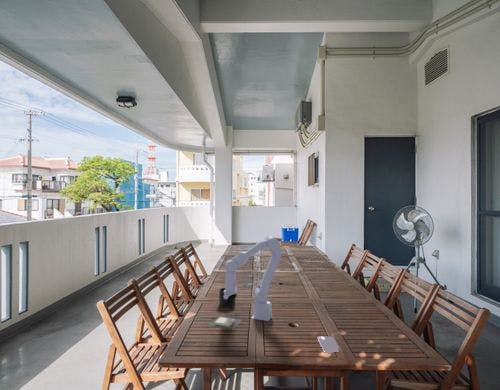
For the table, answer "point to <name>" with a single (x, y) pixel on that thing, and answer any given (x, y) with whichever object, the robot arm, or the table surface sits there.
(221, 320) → the tile
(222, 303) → the mug
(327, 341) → the mobile phone
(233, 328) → the mat
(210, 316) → the table surface
